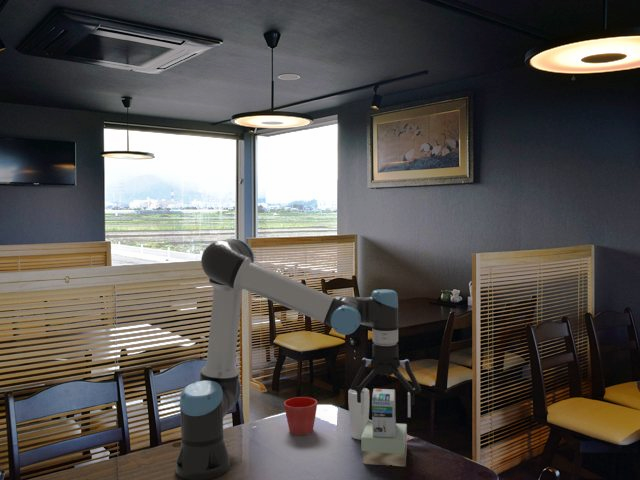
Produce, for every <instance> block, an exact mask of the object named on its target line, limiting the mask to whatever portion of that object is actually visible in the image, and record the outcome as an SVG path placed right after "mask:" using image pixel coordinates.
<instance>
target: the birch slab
mask: <svg viewBox="0 0 640 480" xmlns="http://www.w3.org/2000/svg"><path fill="white" fill-rule="evenodd" d="M407 439H408V438H407ZM407 439H406V445H405V450H404V454H392V453H380V452H369V451H362V464H363V463H364V464H363V465H377V466H390V465H392V466H393V467H394V466H395V467H405V468H406V465H407V451H408V450H407V447H408V445H407V443H408V442H407V441H408V440H407Z"/></svg>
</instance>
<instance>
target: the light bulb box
mask: <svg viewBox="0 0 640 480" xmlns="http://www.w3.org/2000/svg"><path fill="white" fill-rule="evenodd" d="M372 390H373V391H372V397H371V413H372V415H371V418H372V419H371V422H372V429H373V437H394V438H395V434H396V423H397V420H396V419H397V417H396V416H397V415H396V411H397V410H396V390H395V389H390V388H389V389H387V388H373V389H372Z"/></svg>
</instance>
